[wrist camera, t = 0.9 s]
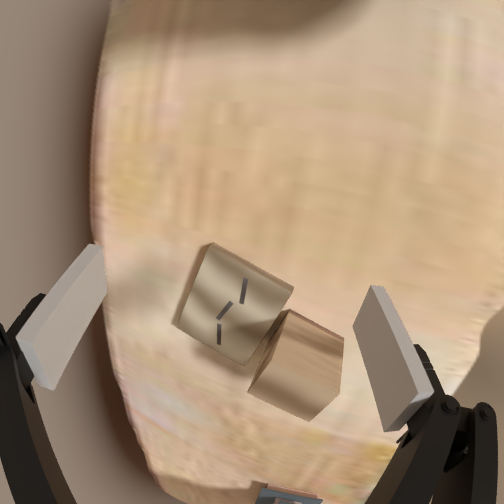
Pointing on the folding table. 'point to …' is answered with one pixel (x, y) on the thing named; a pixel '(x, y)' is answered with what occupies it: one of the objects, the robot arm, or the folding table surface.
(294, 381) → the block
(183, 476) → the folding table surface
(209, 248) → the board
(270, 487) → the desk lamp
